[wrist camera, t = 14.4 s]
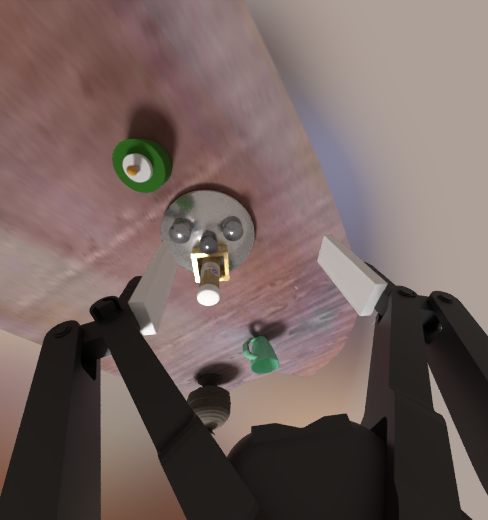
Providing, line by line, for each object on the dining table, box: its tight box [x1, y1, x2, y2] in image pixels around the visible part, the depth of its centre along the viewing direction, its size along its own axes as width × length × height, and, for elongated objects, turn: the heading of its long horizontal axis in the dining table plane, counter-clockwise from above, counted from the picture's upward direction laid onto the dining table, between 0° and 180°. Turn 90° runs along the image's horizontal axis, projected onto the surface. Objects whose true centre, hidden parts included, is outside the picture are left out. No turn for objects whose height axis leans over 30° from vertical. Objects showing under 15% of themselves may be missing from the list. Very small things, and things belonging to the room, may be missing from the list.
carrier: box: [161, 189, 255, 282], centre depth 44 cm, size 22×22×6 cm
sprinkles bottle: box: [197, 256, 220, 306], centre depth 43 cm, size 5×5×13 cm
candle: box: [112, 139, 172, 193], centre depth 33 cm, size 8×8×10 cm
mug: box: [243, 336, 279, 374], centre depth 67 cm, size 15×10×10 cm
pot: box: [187, 374, 231, 438], centre depth 77 cm, size 18×18×20 cm
